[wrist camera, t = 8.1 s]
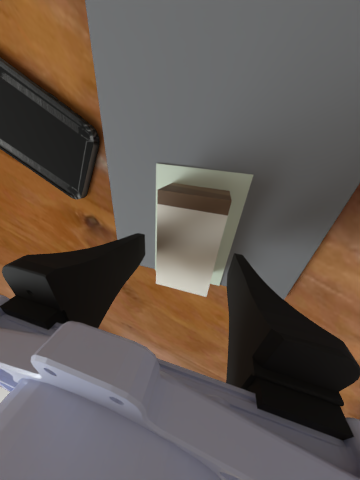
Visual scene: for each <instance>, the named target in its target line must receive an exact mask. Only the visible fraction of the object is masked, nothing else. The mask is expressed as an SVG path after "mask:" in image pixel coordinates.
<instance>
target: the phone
mask: <svg viewBox="0 0 360 480" xmlns="http://www.w3.org/2000/svg"><path fill="white" fill-rule="evenodd" d="M99 142H100V141H99V136H98V133H97V131H96V130H95V128H94V127H93V126H92V125H91V124H89V123H88V122H87V121H85V120H84V119H83V118H82V117H81V116H79V115H78V114H76V113H74V112H73V111H72V110H71V109H70V108H69V107H67V106H66V105H65V104H63V103H62V102H60V101H58V99H57V98H56V97H54V96H53V95H52V94H50V93H48V92H46V91H45V90H43V89H42V88H41V87H39V86H38V85H37V84H35V83H34V82H33V81H31V80H30V79H29V78H27V77H26V76H25V75H23V74H22V73H21V72H19V71H18V70H16V69H15V68H14V67H12V66H11V65H10V64H8V63H7V62H6V61H4V60H3V59H2V58H0V149H1V150H3V151H4V152H6V153H7V154H9V155H10V156H12V157H13V158H14V159H16V160H17V161H19V162H20V163H22V164H23V165H25V166H26V167H28V168H29V169H30V170H32V171H33V172H35V173H36V174H38V175H39V176H41V177H42V178H44V179H45V180H46V181H48V182H49V183H51V184H52V185H54V186H55V187H57V188H58V189H60V190H61V191H62V192H64V193H65V194H67V195H68V196H70V197H71V198H73V199H80V198H84V197H85V196H86V195H87V193H88V189H89V185H90V181H91V177H92V173H93V169H94V165H95V161H96V156H97V152H98V148H99Z"/></svg>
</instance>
